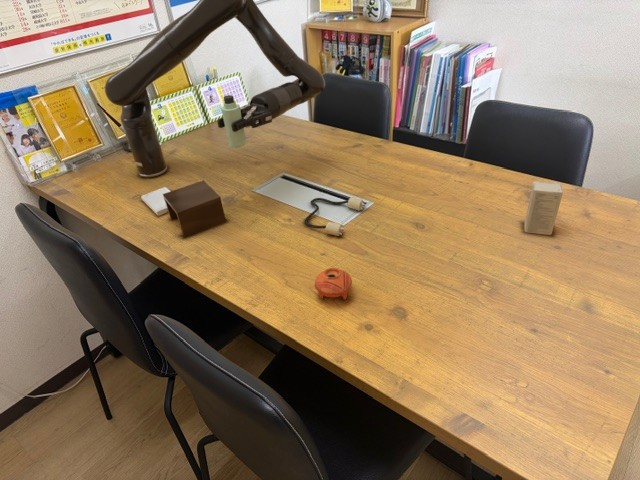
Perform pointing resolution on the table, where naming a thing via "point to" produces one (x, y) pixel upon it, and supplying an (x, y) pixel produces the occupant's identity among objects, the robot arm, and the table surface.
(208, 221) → the stand
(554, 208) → the cosmetic box
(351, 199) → the cable
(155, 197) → the hard drive
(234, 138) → the bottle
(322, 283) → the pot
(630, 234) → the table surface
